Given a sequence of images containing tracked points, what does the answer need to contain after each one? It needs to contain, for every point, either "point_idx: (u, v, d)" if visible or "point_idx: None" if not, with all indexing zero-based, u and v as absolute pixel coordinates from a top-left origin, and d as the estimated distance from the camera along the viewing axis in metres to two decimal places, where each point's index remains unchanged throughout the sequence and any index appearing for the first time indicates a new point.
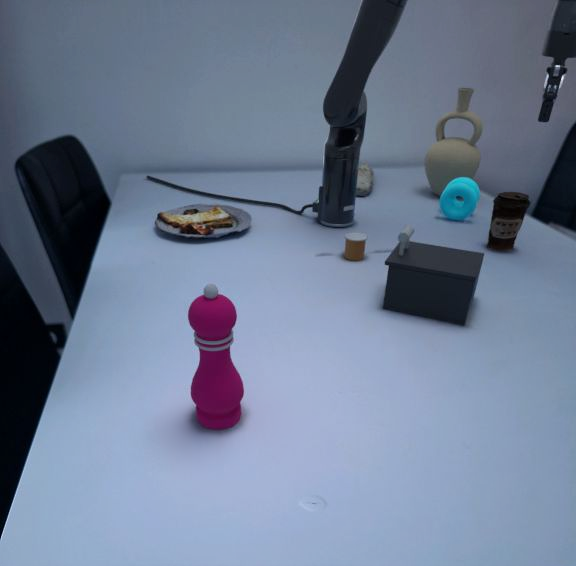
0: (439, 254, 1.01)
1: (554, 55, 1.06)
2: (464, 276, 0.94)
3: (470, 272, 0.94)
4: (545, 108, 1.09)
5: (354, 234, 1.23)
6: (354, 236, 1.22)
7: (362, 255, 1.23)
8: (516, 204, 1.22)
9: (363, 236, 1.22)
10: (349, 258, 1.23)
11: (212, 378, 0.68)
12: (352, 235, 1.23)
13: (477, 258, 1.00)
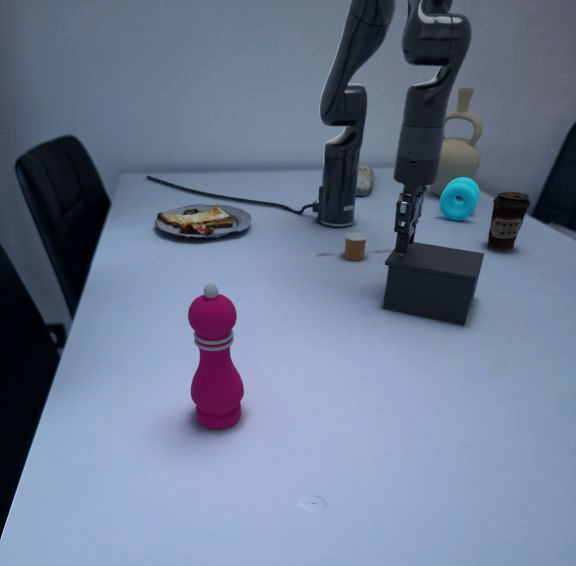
0: (439, 254, 1.01)
1: (403, 183, 0.92)
2: (464, 276, 0.94)
3: (470, 272, 0.94)
4: (400, 240, 0.97)
5: (354, 234, 1.23)
6: (354, 236, 1.22)
7: (362, 255, 1.23)
8: (516, 204, 1.22)
9: (363, 236, 1.22)
10: (349, 258, 1.23)
11: (212, 378, 0.68)
12: (352, 235, 1.23)
13: (477, 258, 1.00)
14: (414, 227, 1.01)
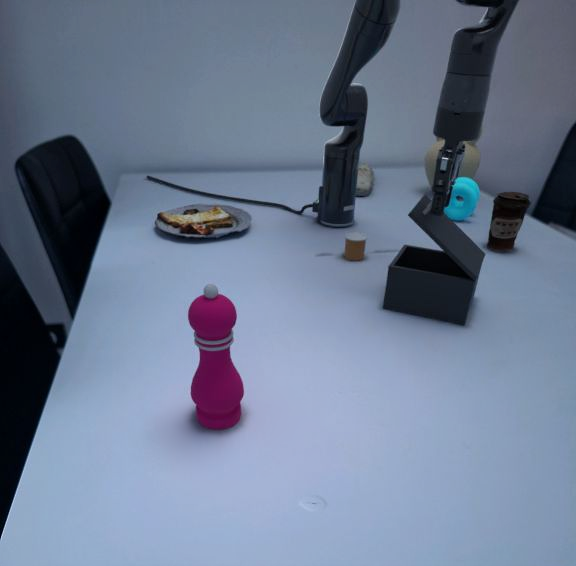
0: (453, 232, 0.98)
1: (444, 137, 0.86)
2: (468, 271, 0.93)
3: (473, 270, 0.94)
4: (437, 201, 0.91)
5: (354, 234, 1.23)
6: (354, 236, 1.22)
7: (362, 255, 1.23)
8: (516, 204, 1.22)
9: (363, 236, 1.22)
10: (349, 258, 1.23)
11: (212, 378, 0.68)
12: (352, 235, 1.23)
13: (480, 256, 1.00)
14: (451, 189, 0.95)
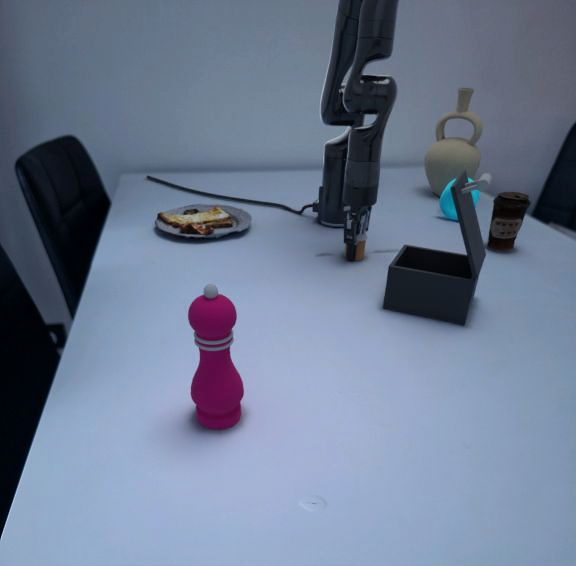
0: (473, 222, 0.96)
1: (349, 204, 1.15)
2: (473, 268, 0.92)
3: (477, 269, 0.94)
4: (349, 250, 1.21)
5: None
6: None
7: (362, 255, 1.23)
8: (516, 204, 1.22)
9: (363, 236, 1.22)
10: None
11: (212, 378, 0.68)
12: None
13: (483, 256, 1.00)
14: None
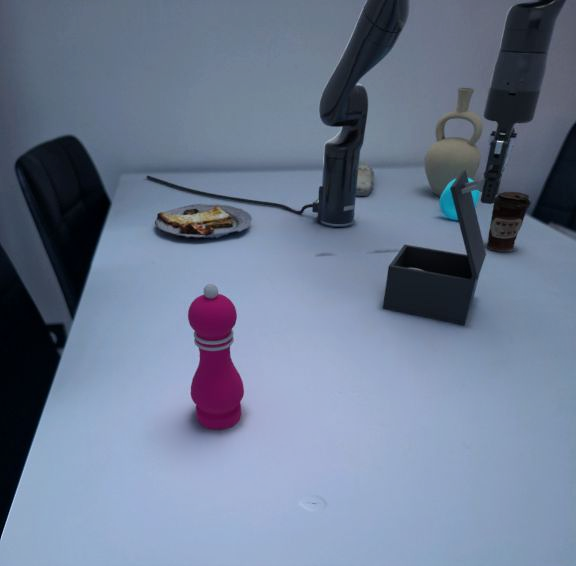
0: (473, 222, 0.96)
1: (497, 120, 0.82)
2: (473, 268, 0.92)
3: (477, 269, 0.94)
4: (488, 188, 0.87)
5: None
6: None
7: None
8: (516, 204, 1.22)
9: None
10: None
11: (212, 378, 0.68)
12: None
13: (483, 256, 1.00)
14: None
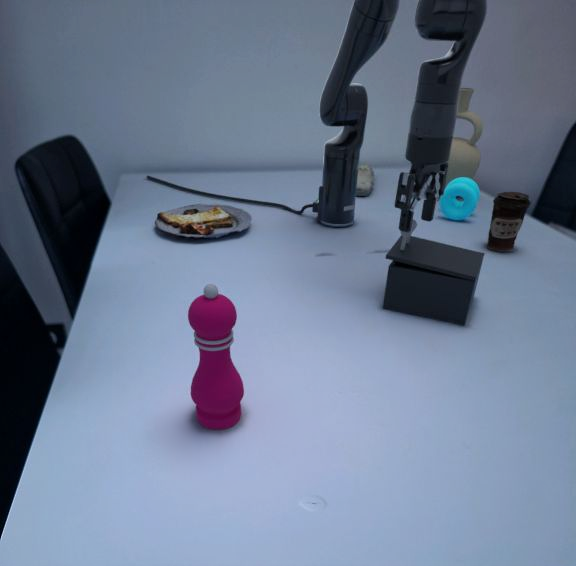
0: (440, 251, 1.01)
1: (410, 160, 0.91)
2: (464, 275, 0.94)
3: (470, 272, 0.94)
4: (402, 217, 0.95)
5: None
6: None
7: None
8: (516, 204, 1.22)
9: None
10: None
11: (212, 378, 0.68)
12: None
13: (477, 258, 1.00)
14: (433, 204, 1.00)
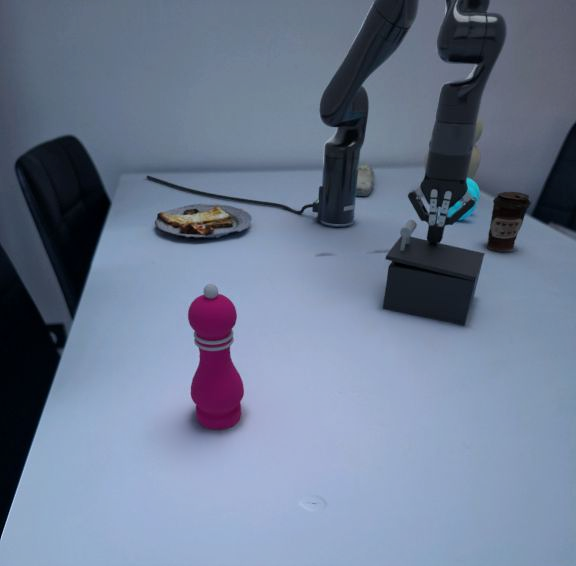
0: (440, 251, 1.01)
1: None
2: (464, 275, 0.94)
3: (470, 272, 0.94)
4: None
5: None
6: None
7: None
8: (516, 204, 1.22)
9: None
10: None
11: (212, 378, 0.68)
12: None
13: (477, 258, 1.00)
14: (435, 228, 1.02)
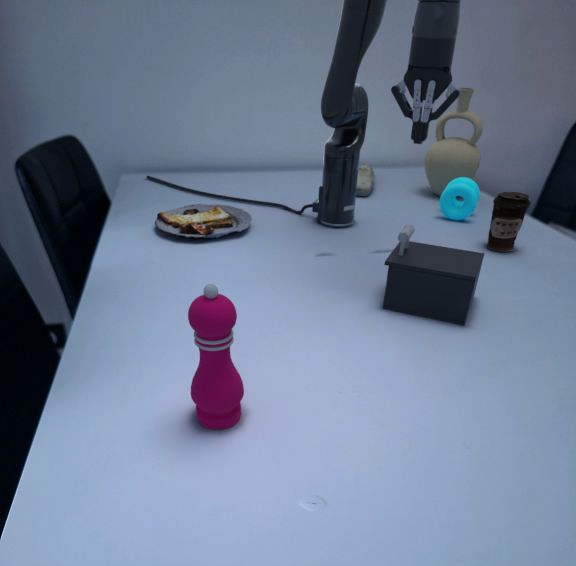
0: (439, 254, 1.01)
1: None
2: (464, 276, 0.94)
3: (470, 272, 0.94)
4: None
5: None
6: None
7: None
8: (516, 204, 1.22)
9: None
10: None
11: (212, 378, 0.68)
12: None
13: (477, 258, 1.00)
14: (419, 125, 0.99)
